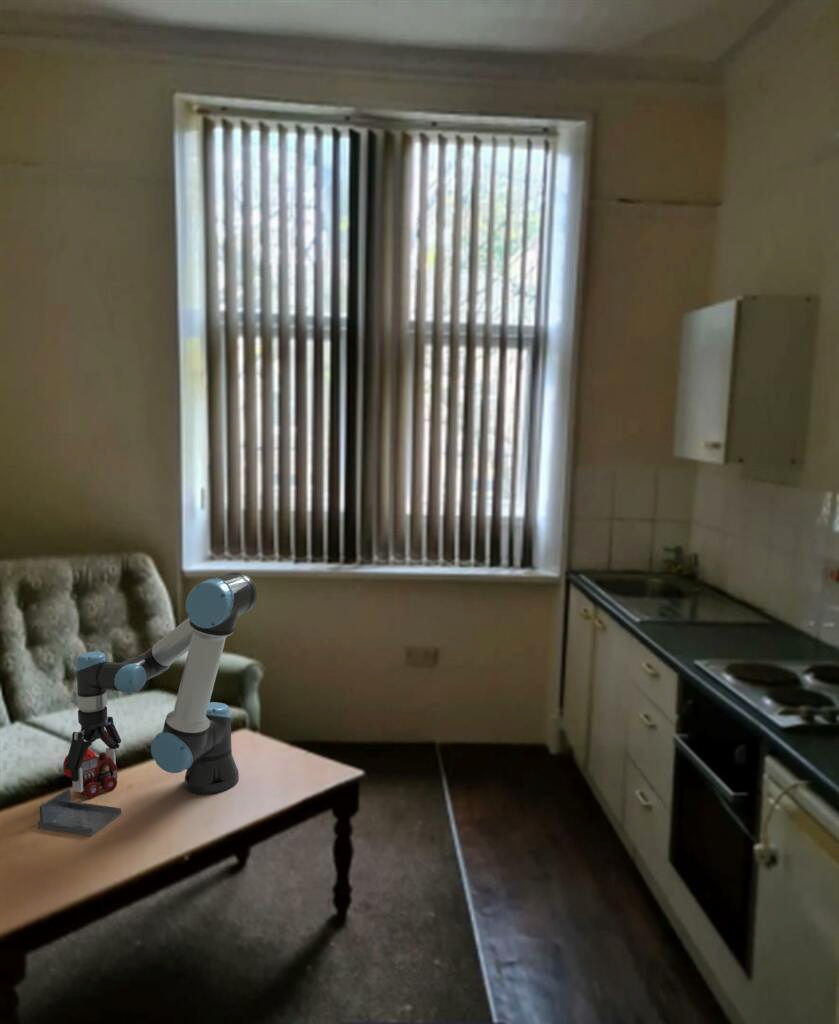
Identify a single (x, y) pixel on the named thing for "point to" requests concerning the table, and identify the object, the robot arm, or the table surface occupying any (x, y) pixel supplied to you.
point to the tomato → (88, 754)
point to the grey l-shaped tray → (75, 815)
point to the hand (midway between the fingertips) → (95, 780)
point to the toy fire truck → (98, 775)
